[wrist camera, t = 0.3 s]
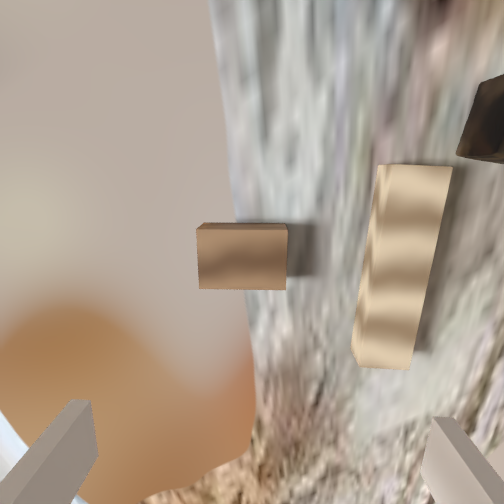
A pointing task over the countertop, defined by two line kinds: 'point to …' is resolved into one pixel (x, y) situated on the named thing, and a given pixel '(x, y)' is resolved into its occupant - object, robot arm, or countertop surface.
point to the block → (242, 256)
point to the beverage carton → (485, 124)
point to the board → (398, 262)
